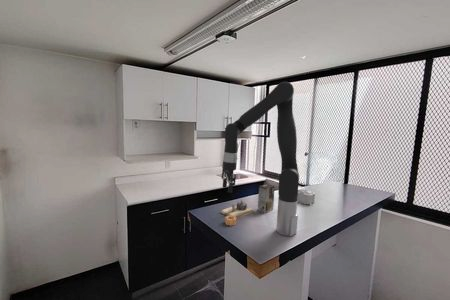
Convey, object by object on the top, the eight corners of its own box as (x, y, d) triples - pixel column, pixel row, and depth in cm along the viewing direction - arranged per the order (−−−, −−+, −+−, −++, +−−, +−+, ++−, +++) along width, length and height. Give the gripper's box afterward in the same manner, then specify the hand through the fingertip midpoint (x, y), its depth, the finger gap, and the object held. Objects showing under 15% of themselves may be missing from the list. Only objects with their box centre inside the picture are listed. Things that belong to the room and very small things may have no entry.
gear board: (253, 211, 134) (254, 201, 134) (234, 219, 123) (235, 207, 122) (239, 206, 143) (239, 196, 142) (220, 212, 131) (221, 201, 131)
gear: (238, 223, 117) (238, 218, 117) (230, 226, 113) (230, 221, 113) (230, 219, 122) (230, 214, 121) (222, 222, 118) (222, 217, 117)
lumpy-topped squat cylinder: (308, 205, 150) (309, 193, 149) (292, 200, 159) (293, 189, 158) (315, 202, 156) (316, 191, 156) (299, 197, 166) (300, 186, 165)
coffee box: (265, 207, 144) (266, 183, 142) (273, 209, 139) (275, 185, 137) (257, 210, 137) (258, 185, 135) (265, 213, 133) (267, 188, 131)
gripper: (241, 163, 109) (238, 194, 111) (231, 158, 122) (228, 185, 124) (228, 163, 106) (225, 194, 108) (219, 158, 120) (216, 185, 122)
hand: (227, 189), depth 116 cm, fingers open, 8 cm apart
